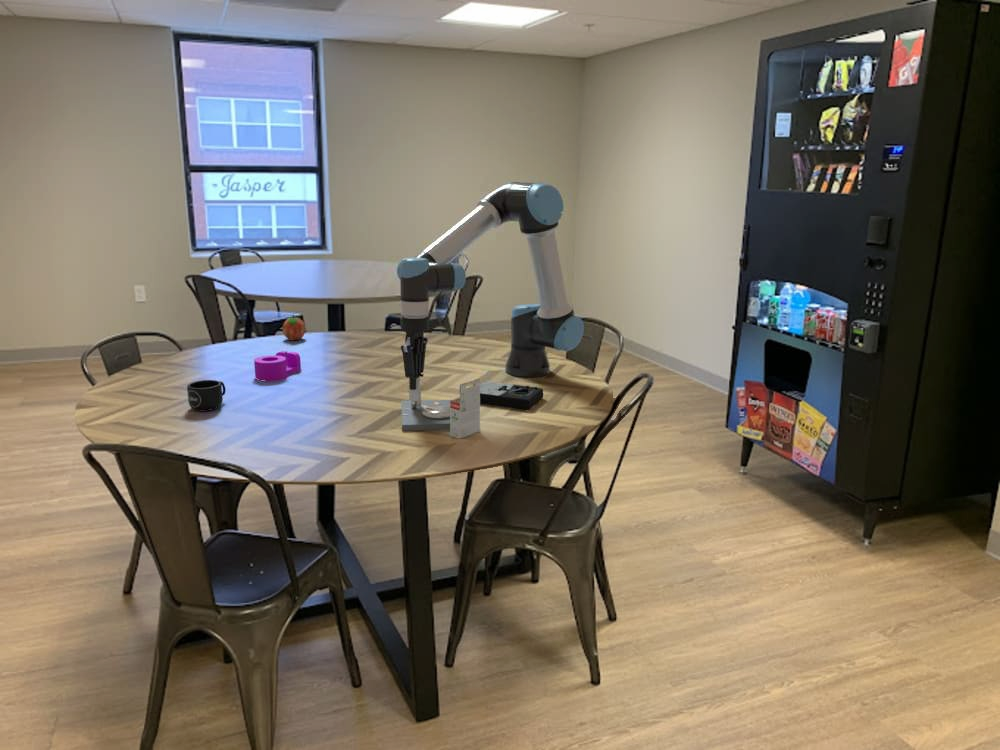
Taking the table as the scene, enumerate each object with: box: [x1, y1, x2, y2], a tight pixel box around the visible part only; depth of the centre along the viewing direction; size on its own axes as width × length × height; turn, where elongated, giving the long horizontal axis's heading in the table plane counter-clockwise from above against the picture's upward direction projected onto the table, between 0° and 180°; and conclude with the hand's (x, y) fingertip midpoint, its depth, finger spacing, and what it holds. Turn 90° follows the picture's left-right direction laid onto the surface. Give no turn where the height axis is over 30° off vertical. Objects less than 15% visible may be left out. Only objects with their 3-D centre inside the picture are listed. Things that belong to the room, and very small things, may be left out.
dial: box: [410, 385, 450, 420], centre depth 208 cm, size 14×9×6 cm, turn 52°
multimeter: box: [480, 380, 544, 411], centre depth 225 cm, size 13×19×5 cm
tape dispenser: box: [253, 350, 302, 382], centre depth 248 cm, size 16×10×6 cm, turn 163°
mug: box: [186, 379, 226, 411], centre depth 214 cm, size 12×9×7 cm
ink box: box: [449, 378, 481, 440], centre depth 195 cm, size 4×8×15 cm, turn 140°
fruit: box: [282, 314, 306, 341], centre depth 297 cm, size 9×10×10 cm
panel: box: [400, 399, 452, 432], centre depth 210 cm, size 20×21×2 cm
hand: (414, 399), depth 209 cm, fingers closed
